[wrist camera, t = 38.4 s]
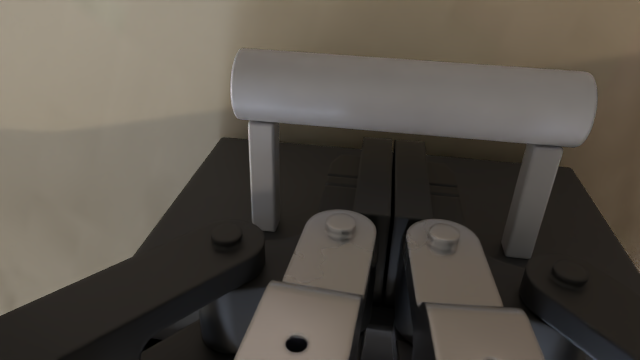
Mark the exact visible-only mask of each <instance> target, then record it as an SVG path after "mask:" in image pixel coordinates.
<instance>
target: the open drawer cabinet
mask: <svg viewBox="0 0 640 360" xmlns="http://www.w3.org/2000/svg"><path fill="white" fill-rule="evenodd" d="M230 91H231V103H232V108H233V111H234V114H235V116H236V117H237V118H238V119H241V120H250V121H249V123H248V139H249V140H248V139H237V138H225V137H223V138H221V139H220V141H219V142H218V143H217V145H216V146H215V147H214V149H213V150H212V151H211V153H210V154H209V155H208V157H207V158H206V159H205V161H204V162H203V163H202V165H201V166H200V167H199V169H198V170H197V171H196V173H195V174H194V175H193V177H192V178H191V179H190V181H189V182H188V183H187V185H186V186H185V187H184V189H183V190H182V191H181V193H180V194H179V195H178V197H177V198H176V200H175V201H174V202H173V204H172V205H171V206H170V208H169V209H168V210H167V212H166V213H165V214H164V216H163V217H162V218H161V220H160V221H159V222H158V224H157V225H156V226H155V228H154V229H153V230H152V232H151V233H150V234H149V236H148V237H147V238H146V240H145V241H144V242H143V244H142V245H141V246H140V248H139V249H138V250H137V252H136V253H135V254H134V256H136V255H138V254H140V253H143V252H145V251H147V250H149V249H152V248H154V247H156V246H158V245H161V244H163V243H165V242H167V241H170V240H172V239H174V238H176V237H179V236H181V235H183V234H185V233H188V232H190V231H192V230H194V229H197V228H199V227H201V226H203V225H206V224H208V223H211V222H214V221H218V220H223V219H239V220H244V221H248V222H251V223H253V224H255V225H257V226H258V227H259V228H260V229H261V230H262V231H263V233H264V237H265V240H273V239H282V238H288V237H292V236H296V235H298V234H301V233H302V232H303V229H304V227H305V225H306V223H307V221H308V220H309V219H310V218H311V217H312V216H314V215H315V214H317V213H318V209H319V205H320V202H321V198H322V194H323V190H324V186H325V182H326V178H327V175H328V170H329V166H330V163H331V162H332V161H333V160H334V159H336V158H337V157H338V156H339V155H341V154H346V155H358V156H361V152H362V149H350V148H339V147H328V146H316V145H305V144H293V143H282V142H279V123H288V124H300V125H312V126H323V127H335V128H347V129H359V130H371V131H383V132H395V133H407V134H419V135H431V136H443V137H455V138H466V139H478V140H490V141H502V142H514V143H526V144H527V145H526V149H525V153H524V156H523V160H522V164H521V163H509V162H498V161H487V160H475V159H464V158H453V157H441V156H430V155H426V159H427V161H428V162H440V163H445V164H446V165H447V166H448V167H449V168H450V169H451V170H452V171H453V172H454V173H455V176H456V180H457V185H458V186H457V188H458V190H459V195H460V196H459V198H460V199H461V204H462V209H463V213H464V218H465V223H466V227H467V228H468V229H470V230H471V231H472V232H473V233H474V234H475V235H476V236H477V237H478V239H479V241H480V243H481V246H482V248H483V251H484V253H485V254H487V255H489V256H491V257H493V258H495V259H497V260H500V261H503V262H506V263H509V264H513V265H516V266H519V267H522V268H526V264H527V262H528V260H529V259H530V258H532V257H533V256H535V255H538V254H542V253H561V254H567V255H570V256H574V257H577V258H580V259H582V260H584V261H586V262H588V263H590V264H592V265H593V266H595V267H597V268H598V269H600V270H602V271H603V272H605V273H606V274H608V275H610V276H611V277H613V278H614V279H616V280H618V281H619V282H621V283H622V284H624V285H626V286H627V287H629V288H630V289H632V290H634V291H635V292H637V293H639V294H640V273H639V272H638V270H637V269H636V267H635V266H634V264H633V263H632V261H631V259H630V258H629V256H628V255H627V253H626V252H625V250H624V249H623V247H622V246H621V244H620V242H619V241H618V239H617V238H616V236H615V235H614V233H613V232H612V230H611V229H610V227H609V225H608V224H607V222H606V221H605V219H604V218H603V216H602V215H601V213H600V212H599V210H598V208H597V207H596V205H595V204H594V202H593V201H592V199H591V198H590V196H589V195H588V193H587V192H586V190H585V188H584V187H583V185H582V184H581V182H580V181H579V179H578V178H577V176H576V175H575V173H574V171H573V170H572V169H571V168H566V167H559V164H560V160H561V157H562V154H563V148H562V147H577V146H580V145H581V144H582V143H583V142H584V141H585V140H586V139H587V137H588V135H589V133H590V131H591V129H592V126H593V123H594V119H595V115H596V110H597V100H598V93H597V85H596V81H595V79H594V77H593V75H592V74H590V73H588V72H585V71H570V70H556V69H541V68H526V67H512V66H497V65H483V64H468V63H454V62H439V61H424V60H410V59H395V58H381V57H366V56H351V55H337V54H322V53H308V52H293V51H279V50H264V49H249V48H243V49H240V50H239V51H238V52H237V54H236V56H235V59H234V63H233V67H232V73H231V86H230ZM561 146H562V147H561ZM392 159H393V152H392ZM134 256H133V257H134ZM384 280H385V269H384V277H383V286H382V294H381V302H380V307H374V306H372V312H371V319H370V322H369V325H368V326H367V328H366V337H365V343H364V349H363V355H362V360H393V348H392V332H393V325H394V317H395V309H392V308H384ZM199 319H200V318H199V310H197V311H195V312H194V313H192V314H190V315H188V316H187V317H185V318H183V319H181V320H179V321H178V322H176V323H174V324H172V325H171V326H169V327H167V328H165V329H164V330H162V331H160V332H158V333H157V334H155V335H154V336H153V337H152V339H160V340H164V339H166V338H167V337H169V336H171V335H173V334H174V333H176V332H178V331H180V330H181V329H183V328H185V327H186V326H188V325H190V324H192V323H193V322H195V321H197V320H199ZM585 360H593V359H592V358H591V357H589V356H588V355H587V357H586V359H585Z"/></svg>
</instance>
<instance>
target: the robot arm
mask: <svg viewBox="0 0 640 360" xmlns="http://www.w3.org/2000/svg"><path fill="white" fill-rule="evenodd" d="M457 186H458V185H457V180H456V176H455V173H454V172H453V171H452V170H451V169H450V168H449V167H448V166H447V165H446V164H445V163H440V162H428V161H427V159H426V150H425V142H419V141H406V140H395V143H394V151H393V159H392V139H381V138H369V137H364V138H363V145H362V152H361V156H358V155H346V154H341V155H339V156H338V157H337V158H336V159H334V160H333V161H332V162H331V163H330V166H329V170H328V175H327V178H326V182H325V186H324V190H323V194H322V198H321V202H320V205H319V209H318V213H317V214H315V215H314V216H312V217H311V218H310V219H309V220H308V221H307V223H306V225H305V227H304V229H303V232H302V233H301V234H298V235H296V236H292V237H288V238H282V239H273V240H265V237H264V233H263V231H262V230H261V229H260V228H259V227H258V226H257V225H255V224H253V223H251V222H248V221H244V220H239V219H223V220H218V221H214V222H211V223H208V224H206V225H203V226H201V227H199V228H197V229H194V230H192V231H190V232H188V233H185V234H183V235H181V236H179V237H176V238H174V239H172V240H170V241H167V242H165V243H163V244H161V245H158V246H156V247H154V248H152V249H149V250H147V251H145V252H143V253H140V254H138V255H136V256H134V257H131V258H129V259H127V260H125V261H122V262H120V263H118V264H116V265H114V266H111V267H109V268H107V269H105V270H102V271H100V272H98V273H96V274H93V275H91V276H89V277H87V278H84V279H82V280H80V281H78V282H75V283H73V284H71V285H69V286H66V287H64V288H62V289H60V290H57V291H55V292H53V293H51V294H48V295H46V296H44V297H42V298H39V299H37V300H35V301H33V302H30V303H28V304H26V305H24V306H22V307H19V308H17V309H15V310H13V311H10V312H8V313H6V314H4V315H1V316H0V360H362V355H363V349H364V343H365V337H366V328H367V326H368V325H369V322H370V319H371V312H372V306H374V307H380V302H381V294H382V286H383V277H384V269H385V280H384V308H392V309H395V317H394V325H393V332H392V348H393V360H585V359H586V357H587V355H588V356H589V357H591V358H592V359H593V360H640V294H639V293H637V292H635V291H634V290H632V289H630V288H629V287H627V286H626V285H624V284H622V283H621V282H619V281H618V280H616V279H614V278H613V277H611V276H610V275H608V274H606V273H605V272H603V271H602V270H600V269H598V268H597V267H595V266H593V265H592V264H590V263H588V262H586V261H584V260H582V259H580V258H577V257H574V256H570V255H567V254H561V253H542V254H538V255H535V256H533V257H532V258H530V259H529V260H528V262H527V264H526V268H522V267H519V266H516V265H513V264H509V263H506V262H503V261H500V260H497V259H495V258H493V257H491V256H489V255H487V254H485V253H484V251H483V248H482V246H481V243H480V241H479V239H478V237H477V236H476V235H475V234H474V233H473V232H472V231H471V230H470V229H468V228H467V227H466V223H465V218H464V213H463V209H462V204H461V199H460V198H459V196H460V195H459V190H458V188H457ZM197 310H199V318H200V319H199V320H197V321H195V322H193V323H192V324H190V325H188V326H186V327H185V328H183V329H181V330H180V331H178V332H176V333H174V334H173V335H171V336H169V337H167V338H166V339H164V340H162V341H161V342H159V343H157V344H155V345H154V346H152V347H150V348H148V349H147V350H145V351H143V352H142V350H143V348H144V346H145V345H146V343H147V342H148V341H149V340H150V339H151V338H152V337H153V336H154V335H155V334H157V333H158V332H160V331H162V330H164V329H165V328H167V327H169V326H171V325H172V324H174V323H176V322H178V321H179V320H181V319H183V318H185V317H187V316H188V315H190V314H192V313H194V312H195V311H197Z"/></svg>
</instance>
